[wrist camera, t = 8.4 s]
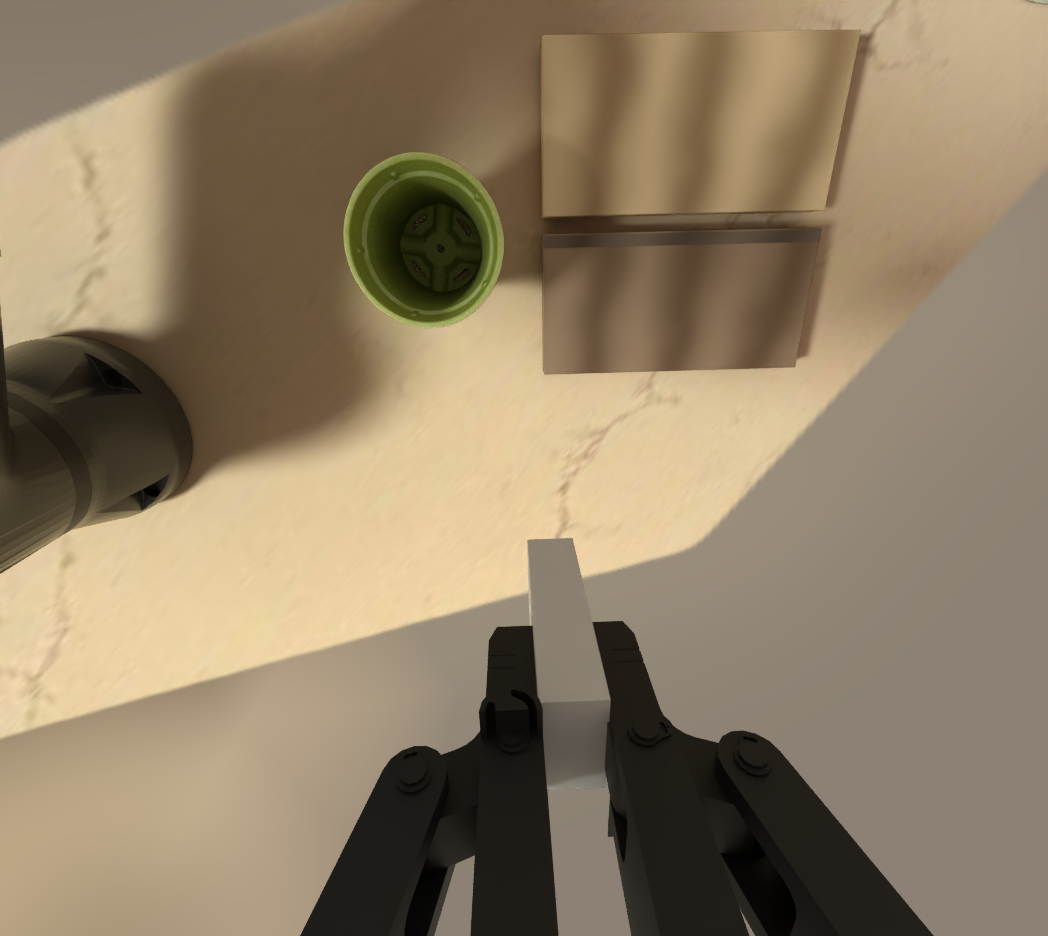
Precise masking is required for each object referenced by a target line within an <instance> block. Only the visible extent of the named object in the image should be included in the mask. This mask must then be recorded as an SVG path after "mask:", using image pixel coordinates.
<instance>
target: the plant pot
mask: <svg viewBox="0 0 1048 936" xmlns="http://www.w3.org/2000/svg"><path fill="white" fill-rule="evenodd" d="M423 215H427V216H428V219H427V220H425V221H424V222H422V223H421V224H420V225H419V226H418V227H416V229H413V228H414V224H415V222H416V221H417V220H418V218H420V217H421V216H423ZM458 220H462V221H463V222H464V223H465V224H466V225H467V226H468V227H469V229H470V231H471V235H470V236H468V235H467V233H466V232H465V230H464V228H463V227H462V226H461V225H460V224H459V223H458ZM343 235H344V247H345V253H346V257H347V261H348V264H349V267H350V270H351V272H352V274H353V276H354V279H355V280H356V282H357V284H358V286H359V287H360V289H361V290H362V291H363V293H364V294H365V295H366V296H367V297H368V299H369V300H370V301H371V302H372V303H373V304H374V305H375V306H376V307H377V308H379V309H380V310H381V311H382V312H384V313H385V314H387V315H388V316H390V317H392V318H393V319H395V320H397V321H399V322H402V323H405V324H408V325H411V326H416V327H423V328H438V327H444V326H449V325H451V324H455V323H457V322H459V321H461V320H463V319H465V318H466V317H468V316H470V315H471V314H472V313H473V312H475V311H476V310H477V309H478V308H479V307H480V306H481V305H482V304H483V303H484V302H485V300H486V299H487V298H488V296H489V295H490V293H491V292H492V290H493V288H494V286H495V284H496V282H497V279H498V277H499V274H500V271H501V267H502V262H503V255H504V235H503V229H502V224H501V220H500V217H499V214H498V211H497V208H496V206H495V204H494V202H493V200H492V198H491V197H490V195H489V193H488V192H487V190H486V189H485V188H484V186H483V185H482V184H481V183H480V181H479V180H478V179H477V178H476V177H475V176H474V175H473V174H472V173H470V172H469V171H468V170H467V169H465V168H464V167H462V166H461V165H459V164H458V163H456V162H454V161H452V160H450V159H448V158H445V157H443V156H440V155H436V154H431V153H424V152H408V153H402V154H398V155H395V156H392V157H390V158H388V159H386V160H384V161H382V162H380V163H379V164H377V165H376V166H374V167H373V168H372V169H371V170H370V171H369V172H368V173H367V174H366V175H365V176H364V177H363V178H362V180H361V181H360V182H359V183H358V185H357V186H356V188H355V190H354V192H353V194H352V196H351V198H350V201H349V204H348V207H347V210H346V214H345V219H344V231H343ZM439 245H442V246H443V247H444V251H443V252H439V251H438V249H437V247H438V246H439ZM413 261H414V262H416V264H417V265H418V267H419V268H420V270H421V271H422V272H423V273H424V274H425V277H421V276H420V274H419V273H418V272H417V271H415V270H414V268H413V266H412V262H413ZM466 268H468V274H467V275H466V276H465V277H463V278H462V279H461V280H460V281H454V278H455V277H457V276H458V275H460V274H461V273H462V272H463V271H464V269H466Z"/></svg>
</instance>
